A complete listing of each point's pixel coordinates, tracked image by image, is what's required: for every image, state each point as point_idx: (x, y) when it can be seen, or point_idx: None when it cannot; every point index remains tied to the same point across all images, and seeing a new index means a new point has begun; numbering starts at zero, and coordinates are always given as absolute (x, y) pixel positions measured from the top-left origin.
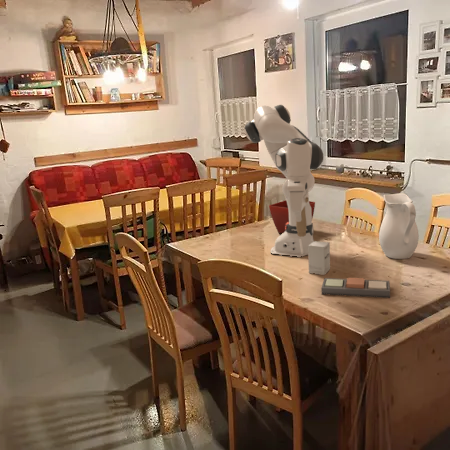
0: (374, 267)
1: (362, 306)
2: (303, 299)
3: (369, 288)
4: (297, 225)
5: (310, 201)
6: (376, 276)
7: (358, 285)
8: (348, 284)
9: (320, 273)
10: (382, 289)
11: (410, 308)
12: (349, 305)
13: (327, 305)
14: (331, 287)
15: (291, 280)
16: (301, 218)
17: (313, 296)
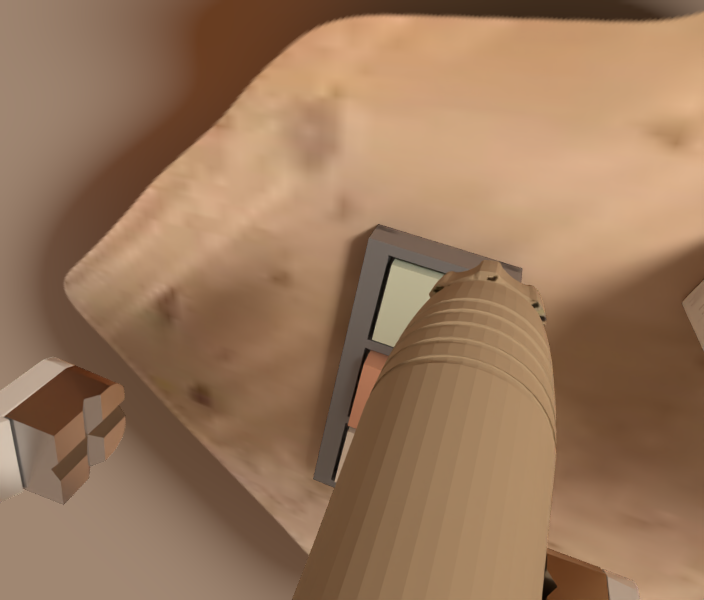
0: (701, 552)
1: (248, 351)
2: (319, 117)
3: (348, 430)
4: (408, 338)
5: None
6: (565, 509)
7: (353, 403)
8: (362, 369)
9: (702, 284)
10: (332, 465)
11: (240, 473)
12: (255, 310)
13: (251, 225)
14: (372, 288)
15: (656, 63)
16: (87, 467)
17: (355, 178)
